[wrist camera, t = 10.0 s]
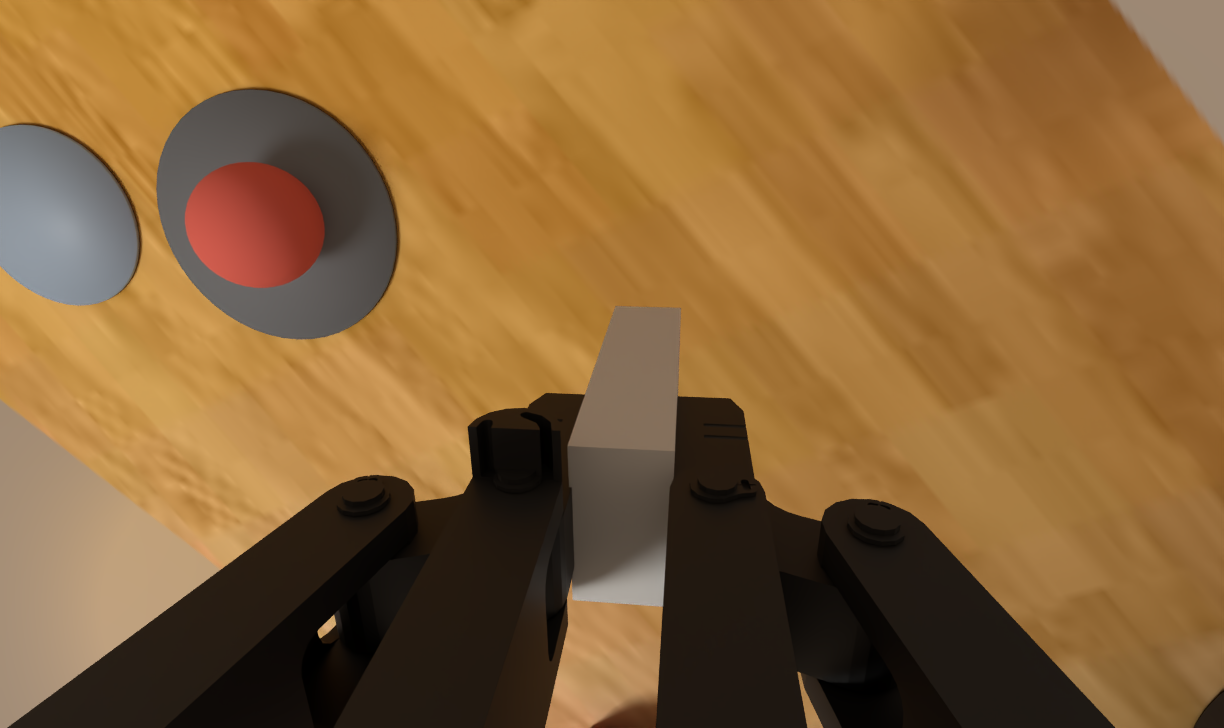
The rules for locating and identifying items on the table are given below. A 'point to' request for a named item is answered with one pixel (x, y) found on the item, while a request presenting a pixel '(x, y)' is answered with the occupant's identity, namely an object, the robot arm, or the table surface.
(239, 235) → the ball
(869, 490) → the table surface
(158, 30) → the table surface
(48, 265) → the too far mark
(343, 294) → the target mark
